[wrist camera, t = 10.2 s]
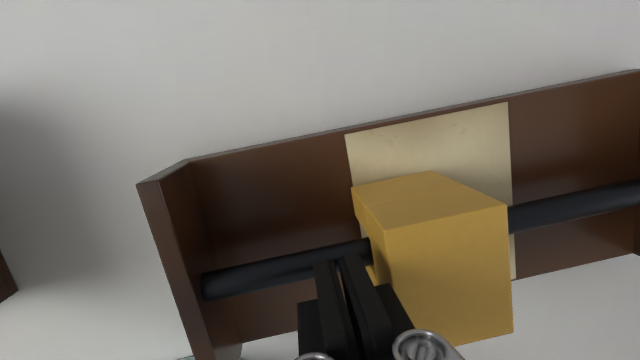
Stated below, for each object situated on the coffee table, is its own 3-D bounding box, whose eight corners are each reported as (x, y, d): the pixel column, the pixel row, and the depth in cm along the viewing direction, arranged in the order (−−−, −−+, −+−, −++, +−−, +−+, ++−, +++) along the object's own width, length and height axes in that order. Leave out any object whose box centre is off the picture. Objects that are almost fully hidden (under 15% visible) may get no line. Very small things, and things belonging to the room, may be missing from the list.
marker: (350, 186, 15) (383, 231, 10) (431, 169, 15) (508, 203, 10) (365, 276, 16) (403, 359, 11) (441, 259, 16) (514, 333, 11)
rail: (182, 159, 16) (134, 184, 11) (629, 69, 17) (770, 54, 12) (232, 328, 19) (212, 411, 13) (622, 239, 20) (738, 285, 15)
